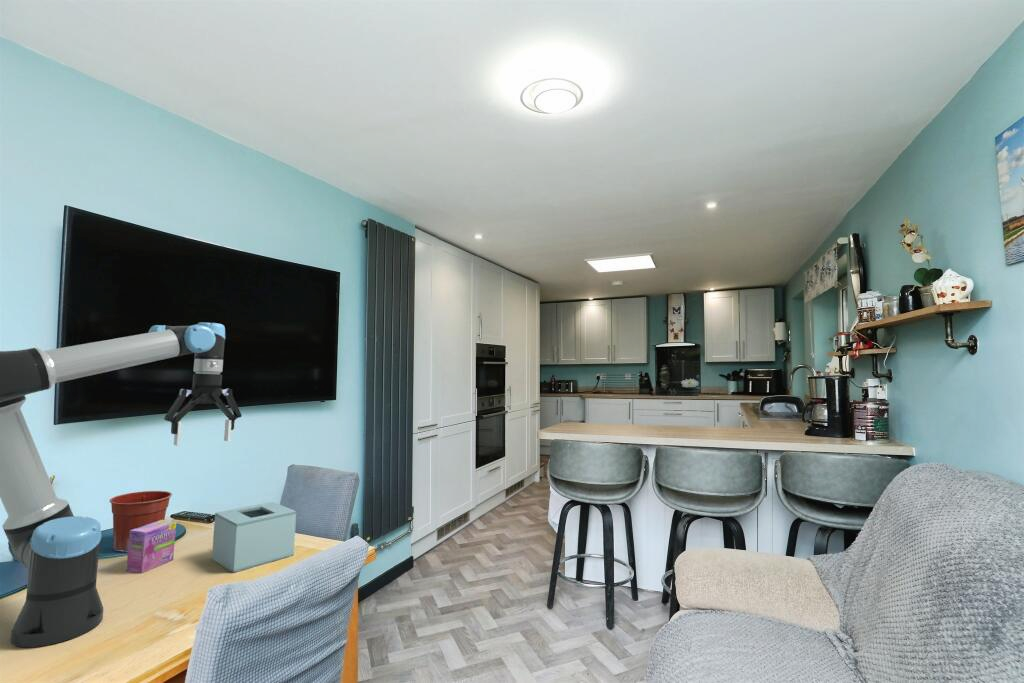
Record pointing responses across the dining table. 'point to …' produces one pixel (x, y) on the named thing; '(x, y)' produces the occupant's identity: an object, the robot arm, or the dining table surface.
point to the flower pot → (136, 513)
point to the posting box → (253, 536)
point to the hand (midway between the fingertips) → (202, 443)
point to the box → (151, 546)
